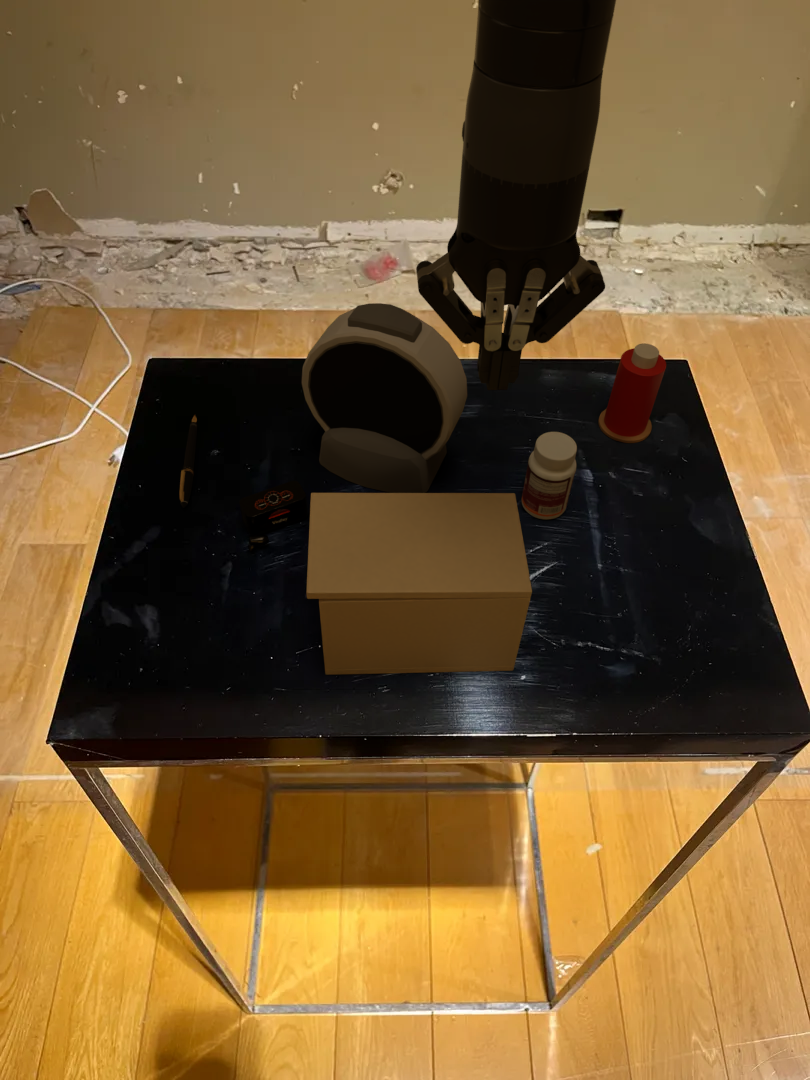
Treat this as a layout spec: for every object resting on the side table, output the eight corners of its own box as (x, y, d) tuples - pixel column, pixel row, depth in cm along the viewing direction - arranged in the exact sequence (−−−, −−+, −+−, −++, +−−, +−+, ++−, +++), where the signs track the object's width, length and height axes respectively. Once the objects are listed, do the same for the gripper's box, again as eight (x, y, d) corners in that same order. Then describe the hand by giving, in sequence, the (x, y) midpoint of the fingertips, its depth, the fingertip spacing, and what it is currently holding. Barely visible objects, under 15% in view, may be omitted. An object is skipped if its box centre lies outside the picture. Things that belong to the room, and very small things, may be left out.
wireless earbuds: (233, 524, 83) (229, 502, 81) (299, 501, 86) (296, 479, 83) (250, 556, 81) (246, 534, 78) (317, 531, 83) (315, 509, 81)
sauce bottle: (647, 413, 95) (671, 341, 88) (644, 440, 92) (668, 368, 85) (606, 405, 96) (626, 333, 89) (601, 432, 93) (621, 359, 86)
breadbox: (325, 674, 72) (318, 602, 64) (327, 579, 79) (322, 502, 71) (513, 670, 73) (530, 598, 65) (499, 576, 80) (513, 499, 72)
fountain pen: (190, 418, 93) (188, 408, 92) (201, 418, 93) (199, 408, 92) (178, 512, 84) (175, 502, 83) (190, 512, 84) (187, 502, 83)
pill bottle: (534, 481, 88) (546, 422, 82) (574, 500, 87) (589, 441, 80) (511, 507, 86) (522, 448, 79) (552, 528, 84) (566, 469, 78)
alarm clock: (296, 466, 89) (281, 323, 75) (334, 409, 95) (327, 266, 81) (437, 508, 85) (449, 365, 72) (468, 445, 92) (484, 303, 78)
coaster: (652, 413, 96) (653, 411, 96) (648, 447, 92) (649, 445, 92) (601, 403, 97) (602, 401, 97) (595, 437, 93) (595, 434, 93)
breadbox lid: (306, 599, 64) (306, 592, 63) (311, 499, 71) (310, 492, 70) (530, 598, 65) (532, 591, 64) (513, 499, 72) (515, 492, 71)
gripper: (417, 178, 45) (409, 418, 59) (654, 177, 46) (593, 415, 59) (410, 120, 50) (404, 353, 63) (624, 120, 51) (574, 351, 64)
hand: (496, 383), depth 61 cm, fingers closed
